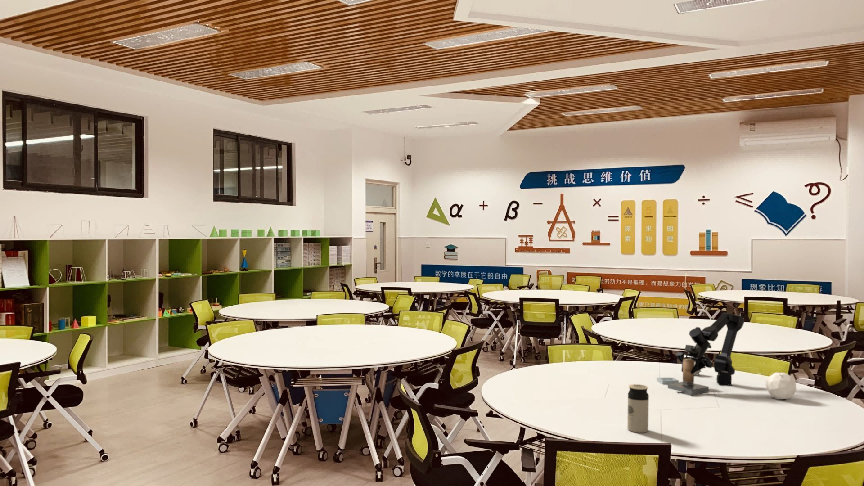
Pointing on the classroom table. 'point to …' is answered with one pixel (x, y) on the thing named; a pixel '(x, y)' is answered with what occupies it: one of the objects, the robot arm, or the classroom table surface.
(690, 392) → the hub plate
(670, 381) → the rest block
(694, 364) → the spiky grey ball
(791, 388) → the geodesic sphere
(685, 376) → the knob
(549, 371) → the classroom table surface
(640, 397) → the travel mug
